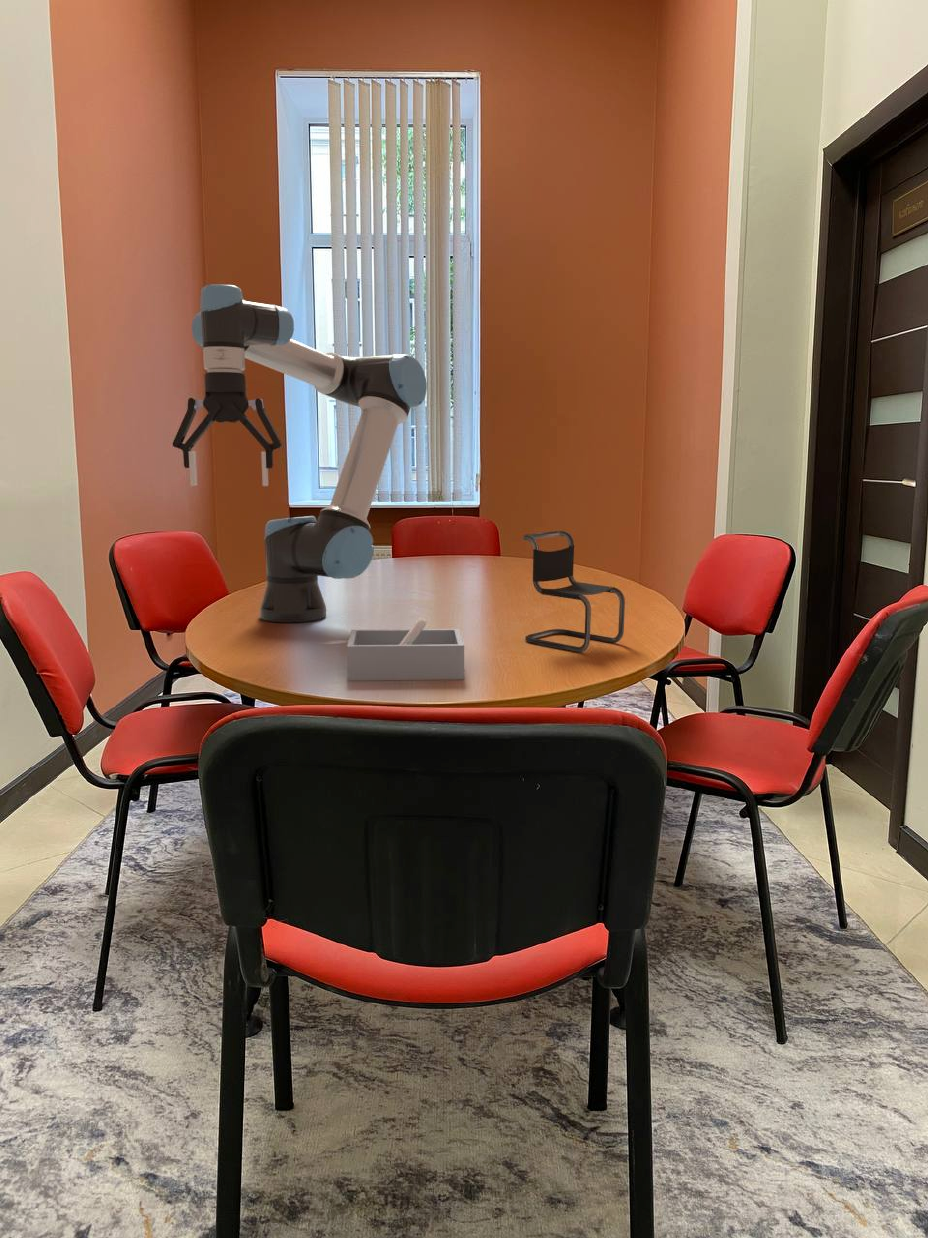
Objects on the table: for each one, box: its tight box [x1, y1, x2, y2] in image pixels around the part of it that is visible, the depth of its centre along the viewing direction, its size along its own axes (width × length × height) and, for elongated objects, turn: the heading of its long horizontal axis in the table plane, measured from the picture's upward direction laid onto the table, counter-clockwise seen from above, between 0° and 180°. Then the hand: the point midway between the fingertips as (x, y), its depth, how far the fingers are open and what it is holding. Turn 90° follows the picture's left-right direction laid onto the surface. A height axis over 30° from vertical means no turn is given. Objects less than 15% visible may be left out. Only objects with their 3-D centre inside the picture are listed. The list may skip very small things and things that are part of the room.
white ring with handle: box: [399, 616, 428, 645], centre depth 162 cm, size 8×12×7 cm
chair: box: [523, 530, 626, 653], centre depth 184 cm, size 13×17×22 cm
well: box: [346, 628, 465, 682], centre depth 162 cm, size 14×20×6 cm
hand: (229, 485), depth 175 cm, fingers open, 13 cm apart
